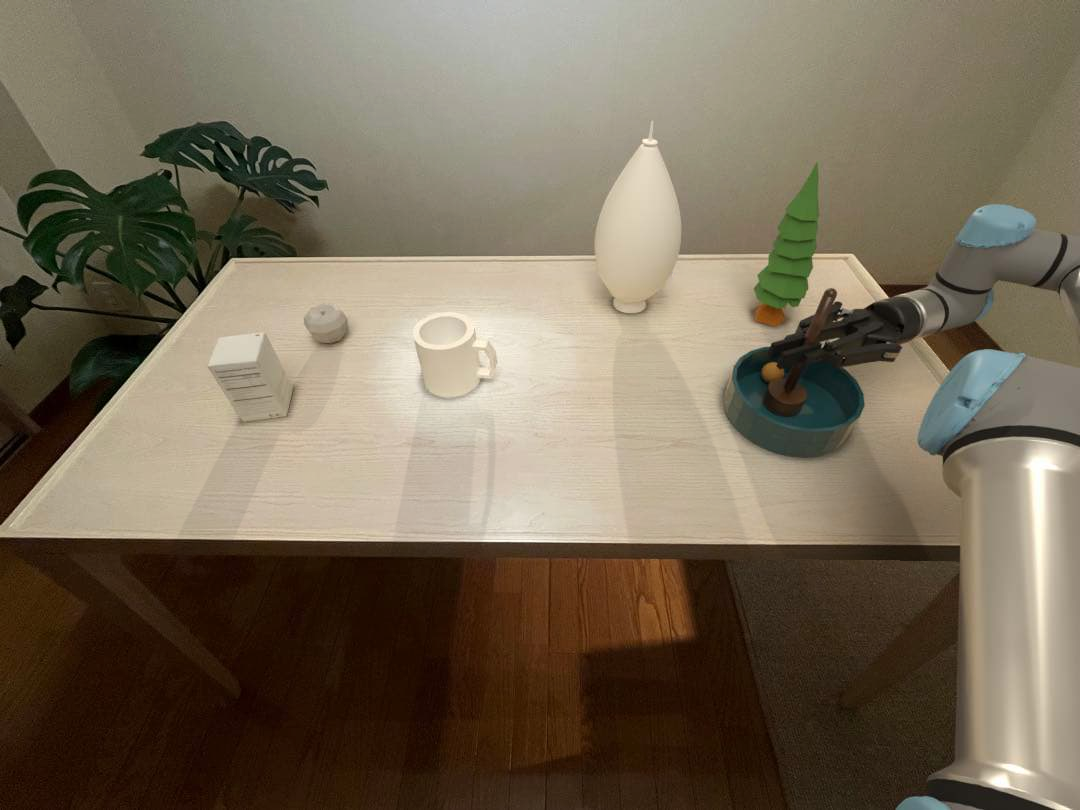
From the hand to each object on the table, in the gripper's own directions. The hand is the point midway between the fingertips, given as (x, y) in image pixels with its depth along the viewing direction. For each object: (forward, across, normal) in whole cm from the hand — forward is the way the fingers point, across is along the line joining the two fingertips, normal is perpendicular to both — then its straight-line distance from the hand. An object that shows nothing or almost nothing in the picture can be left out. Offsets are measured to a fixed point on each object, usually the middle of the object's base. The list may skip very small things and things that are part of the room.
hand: (775, 356), depth 76 cm
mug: (+43, +27, -13) cm, 52 cm away
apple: (+63, +48, -13) cm, 80 cm away
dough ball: (-7, +6, -10) cm, 14 cm away
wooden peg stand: (-6, 0, -12) cm, 13 cm away
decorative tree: (-20, +21, -13) cm, 32 cm away
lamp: (+4, +36, -13) cm, 39 cm away
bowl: (-6, -1, -13) cm, 14 cm away
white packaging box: (+75, +33, -13) cm, 83 cm away
